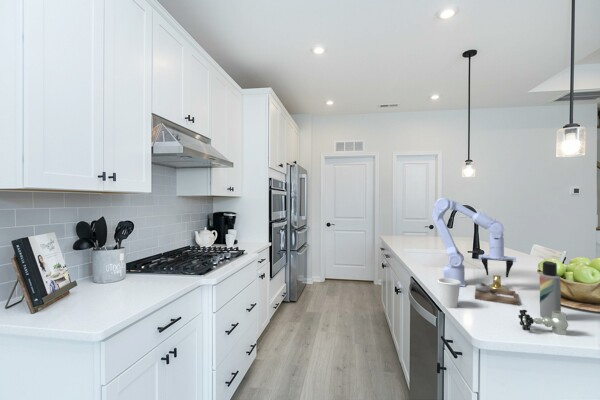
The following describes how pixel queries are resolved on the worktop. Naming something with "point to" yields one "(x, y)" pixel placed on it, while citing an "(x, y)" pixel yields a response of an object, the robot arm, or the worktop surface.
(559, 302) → the lotion bottle
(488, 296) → the carrier
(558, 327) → the valve
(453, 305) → the dixie cup
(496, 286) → the brass flanged knob
